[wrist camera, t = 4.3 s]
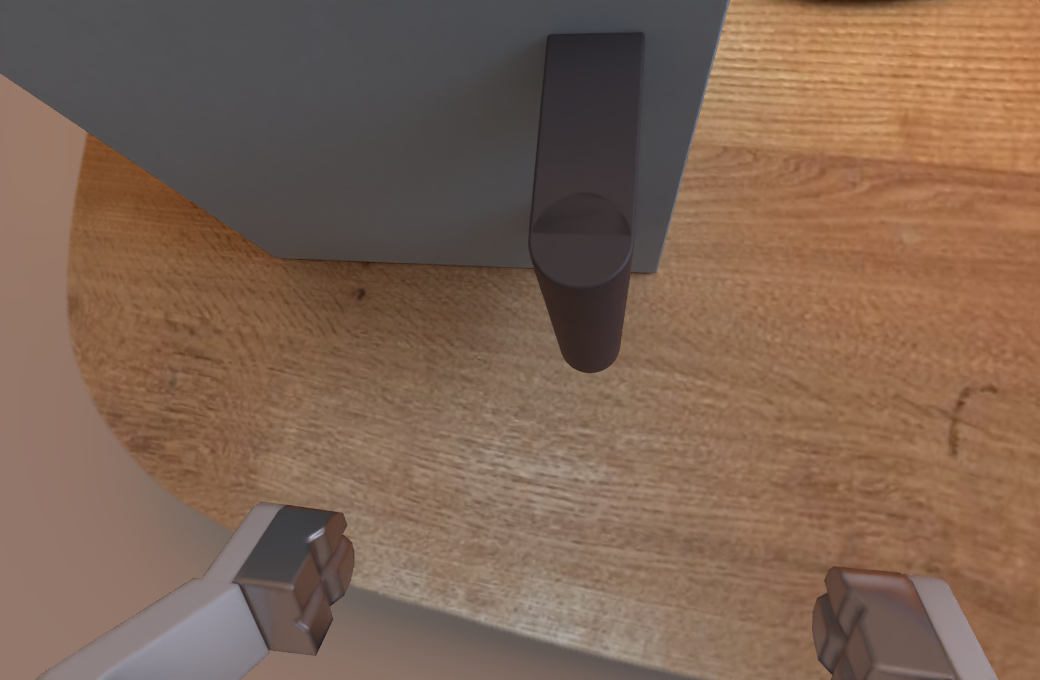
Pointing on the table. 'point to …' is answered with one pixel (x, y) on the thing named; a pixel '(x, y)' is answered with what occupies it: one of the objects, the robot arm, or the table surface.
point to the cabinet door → (401, 126)
